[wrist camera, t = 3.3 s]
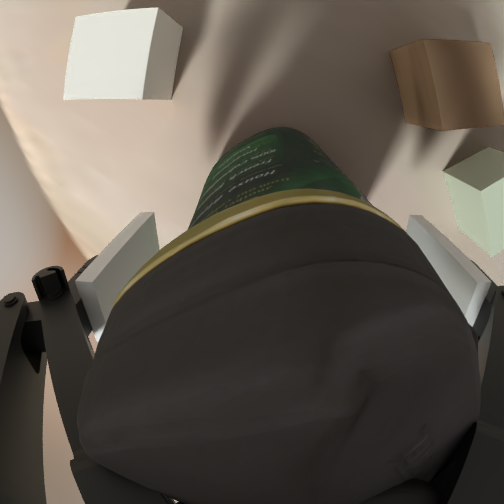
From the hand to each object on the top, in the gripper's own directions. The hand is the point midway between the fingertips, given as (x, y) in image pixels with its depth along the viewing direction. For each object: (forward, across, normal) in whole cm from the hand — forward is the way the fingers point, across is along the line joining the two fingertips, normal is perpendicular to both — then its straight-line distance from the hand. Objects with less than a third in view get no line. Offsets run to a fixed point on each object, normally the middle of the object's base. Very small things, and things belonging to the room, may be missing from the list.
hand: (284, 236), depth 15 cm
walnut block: (+6, -10, -9) cm, 15 cm away
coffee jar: (+6, 0, 0) cm, 6 cm away
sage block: (+6, -15, -2) cm, 16 cm away
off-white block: (+6, +9, -10) cm, 15 cm away
